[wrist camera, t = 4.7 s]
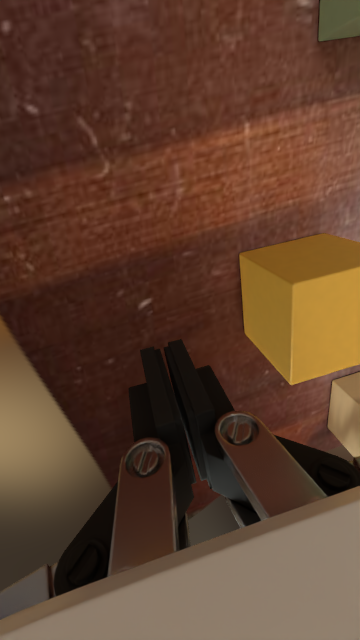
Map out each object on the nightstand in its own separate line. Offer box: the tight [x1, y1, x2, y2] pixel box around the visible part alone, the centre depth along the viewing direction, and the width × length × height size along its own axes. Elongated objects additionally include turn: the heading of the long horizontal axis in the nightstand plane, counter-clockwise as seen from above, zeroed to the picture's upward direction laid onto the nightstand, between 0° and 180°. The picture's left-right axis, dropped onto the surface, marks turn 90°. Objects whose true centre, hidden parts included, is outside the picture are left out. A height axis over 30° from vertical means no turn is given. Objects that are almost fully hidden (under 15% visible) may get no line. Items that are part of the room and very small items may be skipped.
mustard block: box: [239, 233, 360, 385], centre depth 14 cm, size 5×5×5 cm
